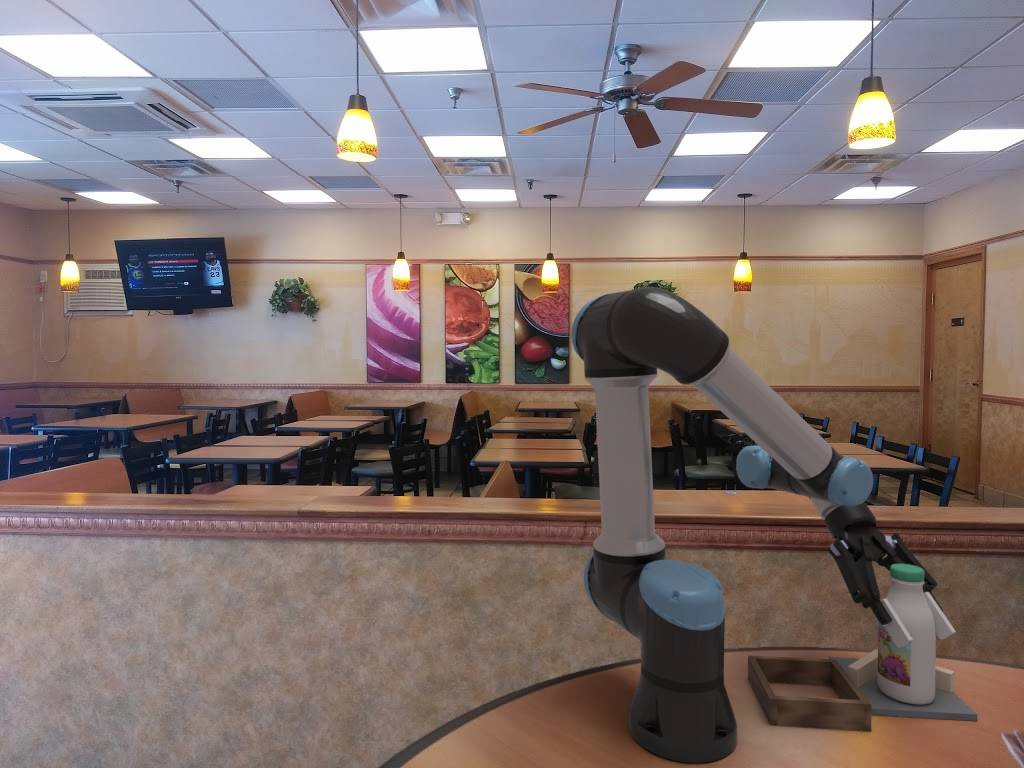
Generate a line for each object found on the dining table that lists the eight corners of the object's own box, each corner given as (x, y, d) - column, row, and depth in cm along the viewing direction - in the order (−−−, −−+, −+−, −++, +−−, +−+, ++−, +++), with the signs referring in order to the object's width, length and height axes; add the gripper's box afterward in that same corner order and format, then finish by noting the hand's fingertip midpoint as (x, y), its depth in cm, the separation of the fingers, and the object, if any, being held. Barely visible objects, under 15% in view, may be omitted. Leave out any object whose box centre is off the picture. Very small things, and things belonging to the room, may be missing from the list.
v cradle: (866, 714, 97) (866, 688, 97) (826, 662, 114) (826, 640, 114) (980, 721, 95) (980, 694, 95) (922, 666, 112) (922, 644, 112)
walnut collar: (769, 725, 94) (769, 698, 94) (747, 678, 108) (747, 655, 108) (871, 731, 93) (871, 704, 92) (835, 683, 106) (835, 659, 106)
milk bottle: (918, 682, 104) (920, 560, 104) (945, 707, 97) (947, 575, 96) (868, 680, 105) (870, 559, 105) (891, 705, 97) (893, 574, 97)
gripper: (876, 517, 118) (960, 640, 103) (783, 527, 111) (858, 659, 97) (902, 494, 112) (994, 620, 98) (806, 503, 106) (889, 639, 91)
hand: (926, 639), depth 97 cm, fingers open, 8 cm apart
